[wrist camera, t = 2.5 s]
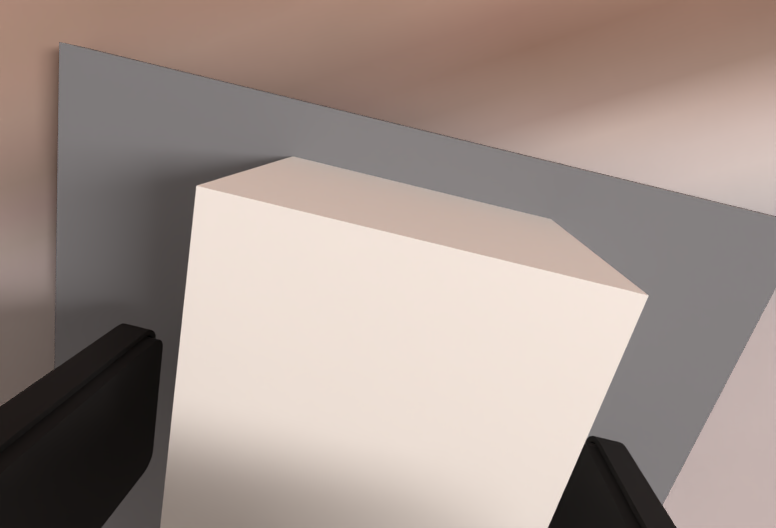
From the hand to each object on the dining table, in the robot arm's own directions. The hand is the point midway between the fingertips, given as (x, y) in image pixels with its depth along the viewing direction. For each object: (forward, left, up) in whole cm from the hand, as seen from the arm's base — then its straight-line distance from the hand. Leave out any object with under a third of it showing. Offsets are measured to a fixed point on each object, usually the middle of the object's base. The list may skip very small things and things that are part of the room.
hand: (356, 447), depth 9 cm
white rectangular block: (0, 0, -1) cm, 1 cm away
